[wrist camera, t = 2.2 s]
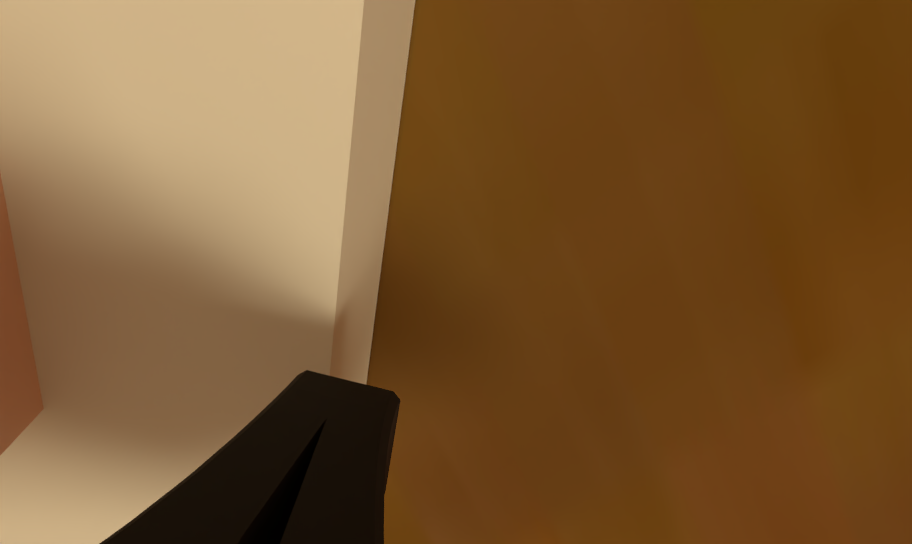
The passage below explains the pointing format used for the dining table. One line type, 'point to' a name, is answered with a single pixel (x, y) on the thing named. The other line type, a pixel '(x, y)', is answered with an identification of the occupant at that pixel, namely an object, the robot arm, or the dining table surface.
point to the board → (185, 229)
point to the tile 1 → (14, 345)
